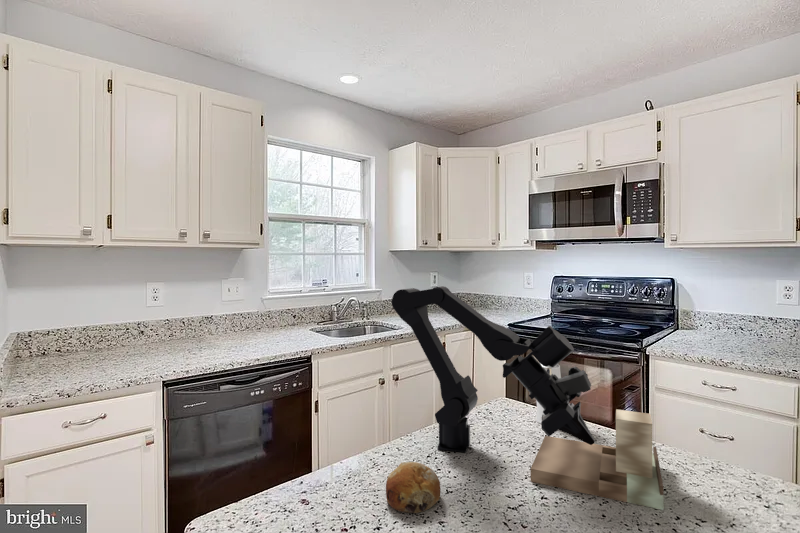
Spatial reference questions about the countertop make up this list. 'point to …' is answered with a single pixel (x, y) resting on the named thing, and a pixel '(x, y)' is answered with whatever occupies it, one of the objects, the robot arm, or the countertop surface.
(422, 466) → the bread roll
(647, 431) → the birch block
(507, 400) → the countertop surface
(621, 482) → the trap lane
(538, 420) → the beer glass
